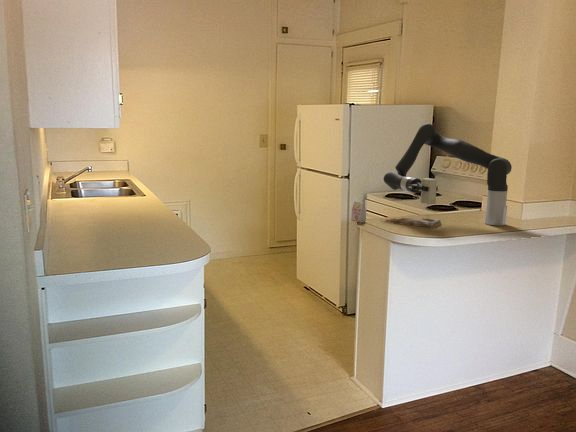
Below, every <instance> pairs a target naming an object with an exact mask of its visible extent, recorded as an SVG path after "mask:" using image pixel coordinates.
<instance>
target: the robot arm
mask: <svg viewBox="0 0 576 432" xmlns="http://www.w3.org/2000/svg"><path fill="white" fill-rule="evenodd" d="M424 145H426V146H430V147H433V148H435V149H438V150H441V151H442V152H445V153H446V154H449V155H451V156H453V157H455V159H458V160H461V161H463V162H466V163H470V164H471V165H472V164H473V165H477V166H480V167H483V168H485V169H487V172H486V173H487V177H486V183H487V184H486V185H487V194H486V207H485V218H484V223H485V224H486V225H489V226H499V227H502V226H504V225H506V223H507V213H508V212H507V211H508V205H507V201H508V200H507V197H508V188H509V185H508V184H507V180H508V179H507V176H508V175H509V174H510V173H511V171H512V168H513V167H512V164H511V162H510V161H509V160H508V159H507V158H505V157H501V156H497V155H494V154H492V153H489V152H487V151H484V149H481V148H479V147H478V146H476V145H473V144H471V143H469V142H467V141H465V140H462V139H457V138H450V137H446V136H444V135H442V134H440V133H439V132H437V130H436V127H435V126H434V125H433V124H432V123H424V124H422V125H421V126H420V127H419V128H418V130H417V132H416V134H415V136H414V138H413V139H412V141H411V143H410V145H409V146H408V148H407V150H406V152H405V153H404V154H403V156H402V157H401V158H400V160H399V161H398V162H397V164H396V165H395V167H394V168H395V170H396V172H397V173H396V172H393V171H389V172H386V173H385V174H384V176H383V182H384V183H385V185H387V186H388V187H389V188H390V189H392V190H394V191H396V190H402V191H405V192H409V193H412V194H418V193H419V192H420V193H421V191H426V192H427V191H428V187H426V186H422V185H421V184H422V179H420V178H417V177H412V176H407V174H408V172H409V171H410V170H411V168H412V167H413V165H414V164H415V162H416V160H417V158H418V156H419V153H420V151H421V149H422V147H423V146H424ZM438 188H439V186H436V192H438V191H439V189H438Z"/></svg>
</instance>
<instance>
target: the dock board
mask: <svg viewBox="0 0 576 432" xmlns="http://www.w3.org/2000/svg"><path fill="white" fill-rule="evenodd" d="M393 221H394V223H395V224H399V223H402V224H401V225H406V224H409V225H408V226H413V225H415V227H420V226H422V227H421V228H427V227H428V229H434V228H436V227H438V226H441V225H442V222H441V219H437V218H436V219H435V218H428V217H422V219H418V218H412V217H410V218H409V217H401V218H399V219H395V220H393Z"/></svg>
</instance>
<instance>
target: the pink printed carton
mask: <svg viewBox="0 0 576 432" xmlns="http://www.w3.org/2000/svg"><path fill="white" fill-rule="evenodd" d="M351 221H352V222H356V223H361V224H362V223H365V222H364V221H366V222H367V209H366V206H365V202H363V201H362V202H361V201H357V200H355V201H354V202H353V205H352V208H351Z"/></svg>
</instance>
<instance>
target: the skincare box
mask: <svg viewBox="0 0 576 432" xmlns="http://www.w3.org/2000/svg"><path fill="white" fill-rule="evenodd" d="M421 181H422V184H421V185H422V186H426V187H428V191H427V192H426V191H420V204H425V205H435V204H436V203H437V191H436V186H437V184H438V183H437V182H438V179H436V178H430V177H426V178H424V177H423V178H421ZM437 187H438V186H437Z"/></svg>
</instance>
